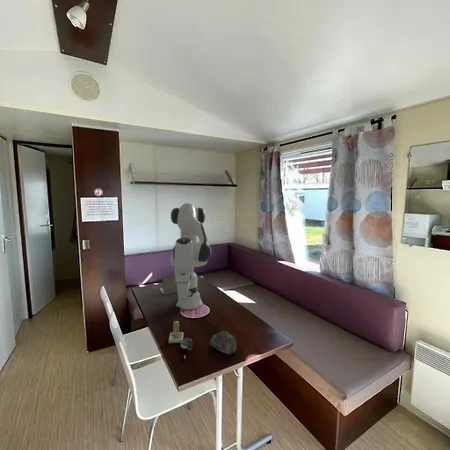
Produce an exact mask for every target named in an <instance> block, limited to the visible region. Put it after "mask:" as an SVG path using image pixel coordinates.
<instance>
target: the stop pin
mask: <svg viewBox="0 0 450 450" xmlns="http://www.w3.org/2000/svg"><path fill="white" fill-rule="evenodd" d="M172 323H173V324H172V327H173V329H172V330H173V331H172V333H173V339H179V332H180V321H178V320H175V321H173V322H172Z"/></svg>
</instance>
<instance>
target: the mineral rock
mask: <svg viewBox="0 0 450 450" xmlns="http://www.w3.org/2000/svg"><path fill="white" fill-rule="evenodd" d="M209 343H210V345H211V346H212V347H213V348H214V349H216V350H217V351H218V352H219V351H220V352H222V353H223V354H225V355H226V354H227V355H232V354H234V353H235V352H236V351H237V345H238V344H237V340H236V339H235V337H234V336H233V334H230V333H229V332H228V331H226V330H222V331H220V332H217V333H216V334H213V335H212V338H211V339H210V340H209Z"/></svg>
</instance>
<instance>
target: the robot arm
mask: <svg viewBox="0 0 450 450" xmlns="http://www.w3.org/2000/svg"><path fill="white" fill-rule="evenodd" d="M169 216H170V220H171V223H173V224H174V225H177V227H178V228H179V230H180V238H178V239H176V240H175V244H174V247H173V249H172V253H171V254H170V258H169V263H170V265H171V266H172V267H173V268H174V277H175V281H176V282H177V291H178V292H177V297H178V298H177V299H178V300H177V302H176V304H175V306H176V307H177V308H179V309H182V310H194V309H197V308H199V307H202V306H204V305H203V304H204V303H203V301H202V299H201V294H200V292H199V286H198V275H197V273H196V272H194V271H195V268H196V267H197V268H198V267H202V266H205V265H207V263H208V261H209V260H210V259H211V257H212V248H211V245H210V243H209V241H208V237H207V233H206V231H205V227H204V225H203V223H205V220H206V217H207V216H206V211H205V209H204V208H203V207H195V206H194V205H193V204H192V203H188V202H187V203H186V202H185V203H183V204H182V205H181V206H180V207H175V208H172V210H171V212H170V215H169Z"/></svg>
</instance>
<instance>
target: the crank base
mask: <svg viewBox="0 0 450 450" xmlns="http://www.w3.org/2000/svg"><path fill="white" fill-rule="evenodd" d="M180 348H182V349H183V350H188V348H187V346H184V345H183V344H182V342H181V343H180ZM186 356H187V355H183V359H186V358H187V357H186Z"/></svg>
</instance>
